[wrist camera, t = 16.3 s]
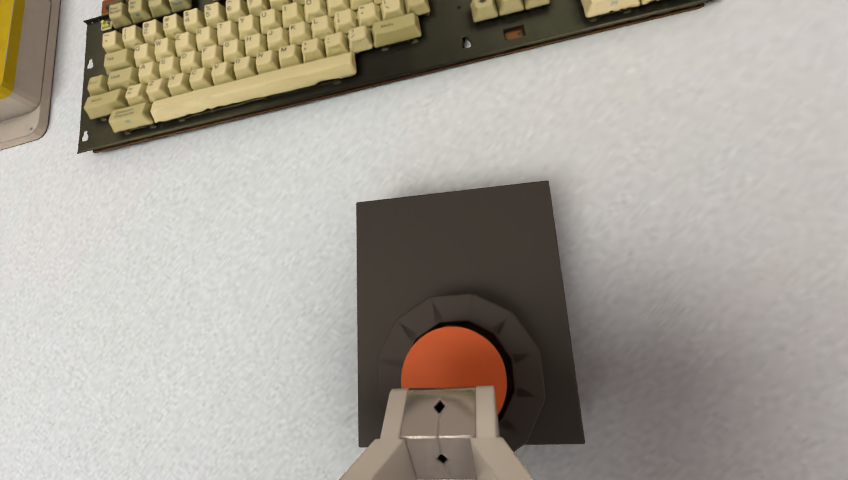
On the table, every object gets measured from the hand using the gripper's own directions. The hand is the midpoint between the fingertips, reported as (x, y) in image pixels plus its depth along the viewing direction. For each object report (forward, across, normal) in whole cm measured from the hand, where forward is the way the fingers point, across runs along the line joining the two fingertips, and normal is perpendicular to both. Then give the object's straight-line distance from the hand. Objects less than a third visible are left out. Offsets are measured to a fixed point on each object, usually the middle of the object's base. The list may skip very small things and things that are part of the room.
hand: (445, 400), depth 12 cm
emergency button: (+26, -38, +11) cm, 47 cm away
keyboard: (+26, -6, +10) cm, 29 cm away
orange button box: (+10, 0, -6) cm, 12 cm away
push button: (+4, 0, -4) cm, 6 cm away
